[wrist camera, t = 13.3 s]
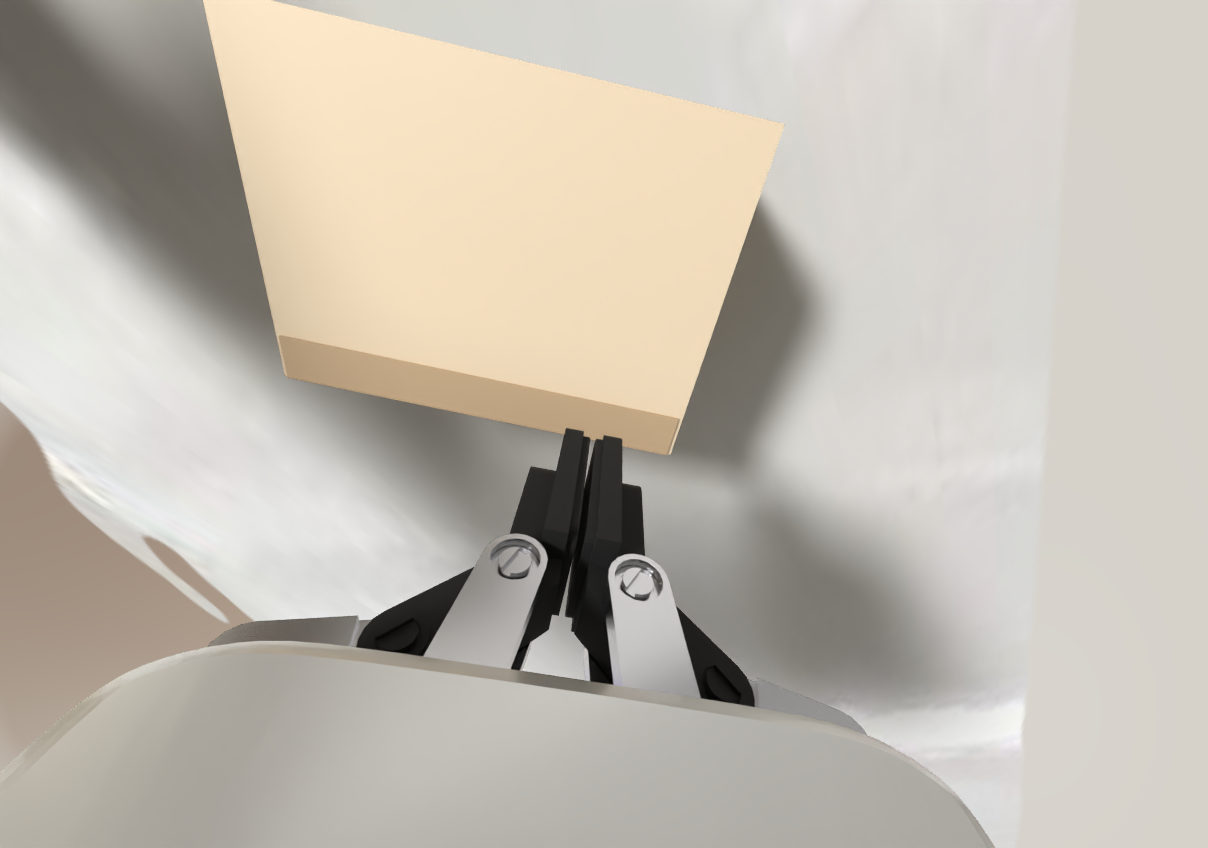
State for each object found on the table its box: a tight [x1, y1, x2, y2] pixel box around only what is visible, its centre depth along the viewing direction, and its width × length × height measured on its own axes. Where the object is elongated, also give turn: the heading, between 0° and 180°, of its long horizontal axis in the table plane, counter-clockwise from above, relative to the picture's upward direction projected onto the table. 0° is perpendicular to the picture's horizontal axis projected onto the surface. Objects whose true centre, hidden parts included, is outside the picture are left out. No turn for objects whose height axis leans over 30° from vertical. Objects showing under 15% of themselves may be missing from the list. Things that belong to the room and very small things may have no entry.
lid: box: [203, 0, 785, 455], centre depth 16 cm, size 18×13×1 cm
